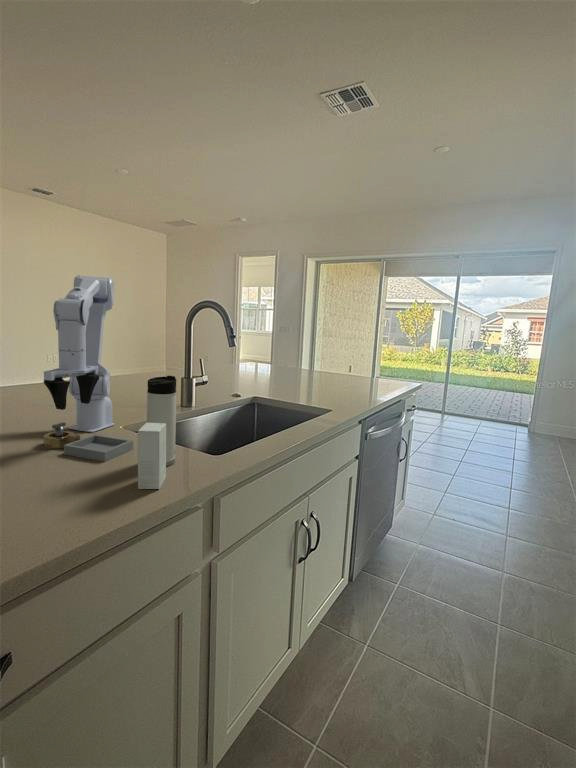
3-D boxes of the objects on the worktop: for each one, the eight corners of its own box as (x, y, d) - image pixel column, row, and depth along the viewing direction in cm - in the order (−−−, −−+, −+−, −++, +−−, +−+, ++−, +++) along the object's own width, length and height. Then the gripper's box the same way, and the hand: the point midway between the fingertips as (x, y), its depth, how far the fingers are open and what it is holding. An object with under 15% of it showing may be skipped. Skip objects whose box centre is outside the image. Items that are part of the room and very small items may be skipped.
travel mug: (181, 460, 93) (183, 377, 90) (161, 469, 87) (163, 380, 84) (161, 455, 96) (162, 374, 92) (140, 463, 90) (141, 376, 86)
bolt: (61, 442, 100) (61, 422, 100) (67, 443, 100) (67, 422, 99) (51, 445, 97) (50, 424, 96) (57, 446, 97) (56, 425, 96)
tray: (95, 442, 102) (95, 434, 101) (133, 448, 99) (133, 440, 99) (64, 454, 92) (63, 445, 92) (105, 461, 89) (104, 452, 89)
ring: (59, 439, 102) (59, 428, 102) (87, 443, 100) (87, 432, 100) (38, 446, 96) (37, 434, 96) (66, 451, 94) (66, 439, 94)
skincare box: (145, 477, 82) (145, 422, 80) (166, 478, 83) (167, 422, 81) (136, 490, 76) (137, 430, 74) (159, 490, 77) (160, 431, 75)
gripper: (61, 353, 86) (62, 414, 88) (108, 350, 100) (108, 402, 102) (35, 350, 88) (37, 410, 90) (84, 347, 101) (85, 399, 104)
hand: (73, 406), depth 96 cm, fingers open, 7 cm apart
